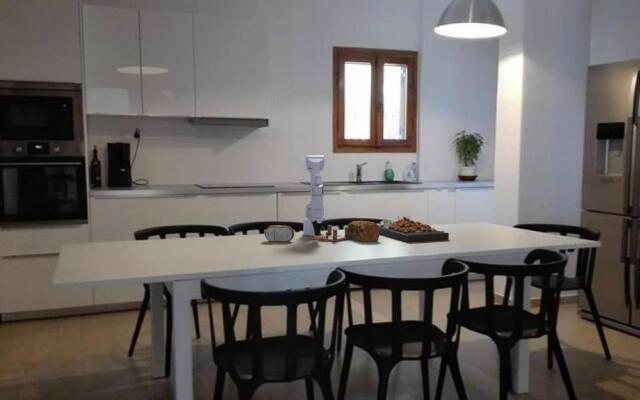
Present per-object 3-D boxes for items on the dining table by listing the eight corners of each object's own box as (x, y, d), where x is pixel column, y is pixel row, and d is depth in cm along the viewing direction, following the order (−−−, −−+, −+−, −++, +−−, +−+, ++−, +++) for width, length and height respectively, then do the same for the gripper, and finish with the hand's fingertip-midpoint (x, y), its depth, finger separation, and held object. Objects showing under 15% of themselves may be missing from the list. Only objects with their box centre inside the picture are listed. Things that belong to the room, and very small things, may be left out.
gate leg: (324, 237, 286) (324, 227, 286) (325, 238, 284) (325, 228, 284) (313, 238, 284) (313, 228, 284) (314, 238, 282) (314, 228, 282)
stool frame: (313, 239, 289) (313, 227, 288) (328, 236, 300) (328, 225, 300) (335, 242, 281) (335, 230, 280) (350, 238, 292) (350, 227, 292)
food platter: (367, 232, 321) (367, 214, 320) (404, 230, 330) (404, 213, 329) (407, 244, 279) (408, 223, 278) (448, 241, 288) (449, 221, 288)
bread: (379, 241, 283) (380, 222, 283) (361, 243, 280) (361, 223, 279) (364, 236, 301) (364, 218, 300) (346, 237, 297) (346, 219, 296)
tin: (294, 241, 283) (294, 225, 282) (293, 242, 279) (293, 226, 279) (265, 241, 284) (265, 224, 283) (264, 242, 281) (264, 225, 280)
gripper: (327, 210, 273) (327, 237, 274) (322, 207, 287) (322, 233, 288) (313, 210, 272) (313, 237, 273) (309, 207, 286) (309, 233, 287)
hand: (317, 235), depth 281 cm, fingers closed
